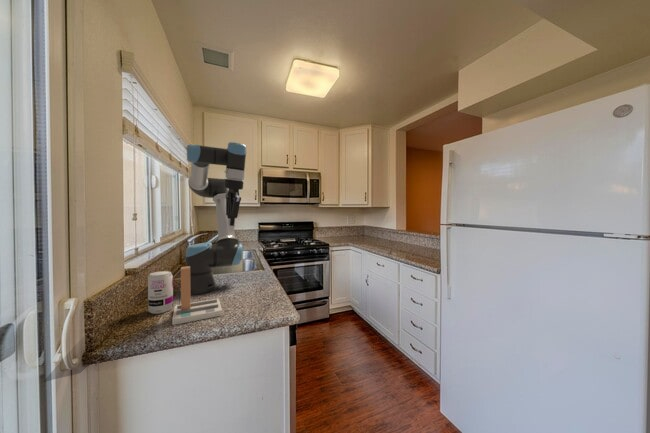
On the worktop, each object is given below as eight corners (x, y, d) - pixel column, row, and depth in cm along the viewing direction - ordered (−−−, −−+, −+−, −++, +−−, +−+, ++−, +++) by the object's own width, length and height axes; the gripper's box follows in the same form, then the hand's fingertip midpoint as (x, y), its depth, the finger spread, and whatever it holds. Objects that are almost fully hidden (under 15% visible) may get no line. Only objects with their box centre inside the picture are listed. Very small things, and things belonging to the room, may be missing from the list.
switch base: (175, 310, 95) (175, 302, 95) (218, 302, 102) (218, 296, 102) (172, 325, 82) (172, 316, 82) (222, 315, 90) (222, 307, 90)
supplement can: (169, 304, 101) (168, 269, 100) (176, 309, 95) (175, 272, 95) (145, 310, 94) (145, 273, 94) (151, 316, 89) (151, 277, 89)
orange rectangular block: (181, 307, 91) (181, 266, 91) (190, 306, 93) (190, 266, 92) (181, 311, 88) (180, 269, 88) (190, 310, 89) (190, 268, 89)
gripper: (220, 177, 105) (217, 229, 108) (230, 179, 95) (226, 236, 98) (237, 179, 110) (233, 229, 113) (248, 181, 100) (244, 235, 103)
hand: (230, 232), depth 106 cm, fingers closed
